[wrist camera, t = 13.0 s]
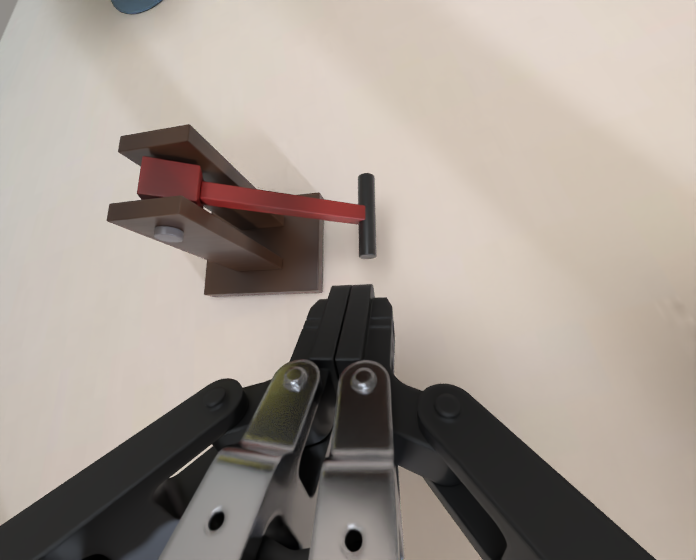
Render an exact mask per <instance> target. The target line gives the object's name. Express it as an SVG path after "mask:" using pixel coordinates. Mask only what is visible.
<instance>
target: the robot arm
mask: <svg viewBox="0 0 696 560" xmlns="http://www.w3.org/2000/svg"><path fill="white" fill-rule="evenodd" d="M394 349H395V333H394V322H393V310H392V305H391V304H390V302H389V301H388V299H387V297H386V298H375V296H374V288H373V285H372V284H367V285H353V286H352V285H340V286H332V287H331V290H330V293H329V296H328V299H319V300H318V301H317V302H316V303H315V304H314V305H313V306H312V307H311V308H310V311H309V313H308V316H307V321H305V324H304V326H303V329H302V331H301V334H300V336H299V339H298V342H297V344H296V347H295V349H294V352H293V354H292V357H291V359H290V362H288V363H287V364H285V365H283V366H282V367H281V368H280V369H279V370H278V371H277V372H276V373H275V375H274V376H273V378H272V379H271V380H268V381H266V382H263V383H259V384H255V385H251V386H247V387H244V388H242V386H241V385H240V383H239V382H238V381H236V380H234V379H229V378H227V379H221V380H218V381H215V382H213V383H211V384H209V385H208V386H206V387H205V388H203V389H202V390H200V391H199V392H197V393H196V394H194V395H193V396H191V397H190V398H188V399H187V400H186V401H184V402H183V403H181V404H180V405H178V406H177V407H175V408H174V409H172V410H171V411H169V412H168V413H166V414H165V415H163V416H162V417H160V418H159V419H157V420H156V421H155V422H153V423H152V424H150V425H149V426H147V427H146V428H144V429H143V430H141V431H140V432H138V433H137V434H135V435H134V436H132V437H131V438H129V439H128V440H126V441H125V442H124V443H122V444H121V445H119V446H118V447H116V448H115V449H113V450H112V451H110V452H109V453H107V454H106V455H104V456H103V457H101V458H100V459H98V460H97V461H95V462H94V463H92V464H91V465H90V466H88V467H87V468H85V469H84V470H82V471H81V472H79V473H78V474H76V475H75V476H73V477H72V478H70V479H69V480H67V481H66V482H64V483H63V484H61V485H60V486H59V487H57V488H56V489H54V490H53V491H51V492H50V493H48V494H47V495H45V496H44V497H42V498H41V499H39V500H38V501H36V502H35V503H33V504H32V505H30V506H29V507H28V508H26V509H25V510H23V511H22V512H20V513H19V514H17V515H16V516H14V517H13V518H11V519H10V520H8V521H7V522H5V523H4V524H2V525H1V526H0V560H405V554H404V540H403V526H402V515H401V501H400V486H399V470H398V465H399V466H401V467H403V468H405V469H407V470H409V471H411V472H414V473H416V474H418V475H420V476H422V477H423V478H424V480H425V481H426V483H427V484H428V486H429V487H430V488H431V490H432V491H433V492H434V494H435V495H436V496H437V498H438V499H439V501H440V502H441V503H442V505H443V506H444V507H445V509H446V510H447V511H448V513H449V514H450V516H451V517H452V518H453V520H454V521H455V522H456V524H457V525H458V526H459V528H460V529H461V531H462V532H463V533H464V535H465V536H466V537H467V539H468V540H469V542H470V543H471V544H472V546H473V547H474V548H475V550H476V551H477V552H478V554H479V555H480V557H481V558H482V559H483V560H656V559H655V558H654V557H653V556H651V555H650V554H649V553H648V552H647V551H646V550H645V549H644V548H642V547H641V546H640V545H639V544H638V543H637V542H636V541H635V540H633V539H632V538H631V537H630V536H629V535H628V534H627V533H625V532H624V531H623V530H622V529H621V528H620V527H619V526H618V525H616V524H615V523H614V522H613V521H612V520H611V519H610V518H609V517H607V516H606V515H605V514H604V513H603V512H602V511H601V510H600V509H598V508H597V507H596V506H595V505H594V504H593V503H592V502H590V501H589V500H588V499H587V498H586V497H585V496H584V495H583V494H581V493H580V492H579V491H578V490H577V489H576V488H575V487H574V486H572V485H571V484H570V483H569V482H568V481H567V480H566V479H565V478H563V477H562V476H561V475H560V474H559V473H558V472H557V471H555V470H554V469H553V468H552V467H551V466H550V465H549V464H548V463H546V462H545V461H544V460H543V459H542V458H541V457H540V456H539V455H537V454H536V453H535V452H534V451H533V450H532V449H531V448H530V447H528V446H527V445H526V444H525V443H524V442H523V441H522V440H521V439H519V438H518V437H517V436H516V435H515V434H514V433H513V432H511V431H510V430H509V429H508V428H507V427H506V426H505V425H504V424H502V423H501V422H500V421H499V420H498V419H497V418H496V417H495V416H493V415H492V414H491V413H490V412H489V411H488V410H487V409H486V408H484V407H483V406H482V405H481V404H480V403H479V402H478V401H476V400H475V399H474V398H473V397H472V396H471V395H470V394H469V393H467V392H466V391H465V390H463V389H461V388H459V387H457V386H454V385H451V384H435V385H432V386H430V387H428V388H426V389H425V390H424V391H421V390H418V389H415V388H412V387H410V386H407V385H405V384H403V383H402V382H401V381H399V380H398V379H397V378H396V377H395V375H394V353H395V350H394ZM211 444H212V445H213V447H211V448H210V449H209V450H208V451H206V452H205V453H204V454H203V455H201V456H200V457H199V458H198V459H196V460H195V461H194V462H193V463H191V464H190V465H189V466H188V467H186V468H185V469H184V470H182V471H181V472H180V473H179V474H177V475H176V476H174V477H171V478H169V477H170V476H172V475H173V474H174V473H176V472H177V471H178V470H179V469H181V468H182V467H183V466H184V465H186V464H187V463H188V462H189V461H191V460H192V459H193V458H195V457H196V456H197V455H198V454H200V453H201V452H202V451H203V450H205V449H206V448H207V447H208V446H210V445H211Z"/></svg>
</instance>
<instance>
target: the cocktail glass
mask: <svg viewBox="0 0 696 560" xmlns="http://www.w3.org/2000/svg"><path fill="white" fill-rule="evenodd" d="M160 1H162V0H111V2H112V4H113V5H114V7H115V8H116V9H117V10H119V11H121V12H123V13H127V14H136V13H140V12H143V11H146V10H148V9H150V8H152V7H154V6H155V5H157V4H158V3H159V2H160Z"/></svg>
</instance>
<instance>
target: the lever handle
mask: <svg viewBox="0 0 696 560" xmlns="http://www.w3.org/2000/svg"><path fill="white" fill-rule="evenodd" d="M137 194H138V195H139V197H140V198H141V200H146V199H154V198H162V197H171V196H179V195H181V196H183V197H185V198H187V199H188V200H190V201H191V202H193V203H195V204H196V205H198V206H199V207H201V208H203V206H204V205H209V206H217V207H225V208H233V209H241V210H248V211H256V212H264V213H272V214H280V215H288V216H295V217H303V218H311V219H319V220H327V221H335V222H342V223H350V224H358V225H359V257H360V258H363V259H372V258H375V257H376V219H375V178H374V175H372V174H370V173H364V174H361V175H359V177H358V205H357V204H351V203H344V202H337V201H331V200H324V199H318V198H311V197H304V196H298V195H291V194H284V193H278V192H271V191H264V190H258V189H251V188H244V187H238V186H231V185H225V184H218V183H211V182H205V181H204V179H203V175H202V171H201V167H200V166H199V165H194V164H188V163H182V162H176V161H170V160H164V159H158V158H152V157H146V156H143V157H142V162H141V169H140V176H139V183H138V189H137Z"/></svg>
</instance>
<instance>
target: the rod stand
mask: <svg viewBox="0 0 696 560" xmlns="http://www.w3.org/2000/svg"><path fill="white" fill-rule="evenodd" d="M118 152H119V153H120V154H122V155H124V156H125V157H127V158H128V159H130V160H131V161H133V162H135V163H136V164H138V165H139V166H141V162H142V157H143V156H146V157H152V158H158V159H164V160H170V161H176V162H182V163H188V164H194V165H199V166H200V167H201V171H202V175H203V179H204V181H205V182H211V183H218V184H225V185H231V186H238V187H244V188H251V189H256V188H255V187H254V186H253V185H252V184H251V183H250V182H249V181H248V180H247V179H246V178H245V177H243V176H242V175H241V174H240V173H239V172H238V171H237V170H236V169H235V168H234V167H233V166H232V165H231V164H230V163H229V162H228V161H227V160H226V159H225V158H224V157H223V156H222V155H221V154H220V153H219V152H218V151H217V150H216V149H215V148H214V147H213V146H211V145H210V144H209V143H208V142H207V141H206V140H205V139H204V138H203V137H202V136H201V135H200V134H199V133H198V132H197V131H196V130H195V129H194V128H193V127H192V126H191V125H189V124H188V125H183V126H177V127H171V128H165V129H160V130H154V131H148V132H142V133H137V134H131V135H125V136H121V137H120V143H119V149H118ZM298 196H304V197H311V198H318V199H323V197H322V196H321V194H320V193H311V194H302V195H298ZM204 207H205V208H207V209H208V210H210V211H211V212H212V214H211V213H209V212H207V211H206V210H204V209H203V208H201V207H199V206H198V205H196V204H195V203H193V202H191V201H190V200H188V199H187V198H185V197H183V196H181V195H179V196H171V197H162V198H154V199H146V200H137V201H129V202H120V203H112V204H109V210H108V216H107V221H108V222H110V223H113V224H116V225H118V226H121V227H123V228H126V229H129V230H131V231H134V232H136V233H139V234H141V235H144V236H147V237H149V238H152V239H154V240H157V241H160V242H162V243H165V244H167V245H170V246H173V247H175V248H178V249H180V250H183V251H186V252H188V253H191V254H193V255H196V256H198V257H201V258H204V259H206V260H207V268H206V278H205V289H204V295H208V296H212V297H216V296H243V295H269V294H296V293H321V292H322V275H323V220H319V219H311V218H303V217H295V216H288V215H280V214H272V213H264V212H256V211H248V210H241V209H233V208H225V207H217V206H209V205H204Z"/></svg>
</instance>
